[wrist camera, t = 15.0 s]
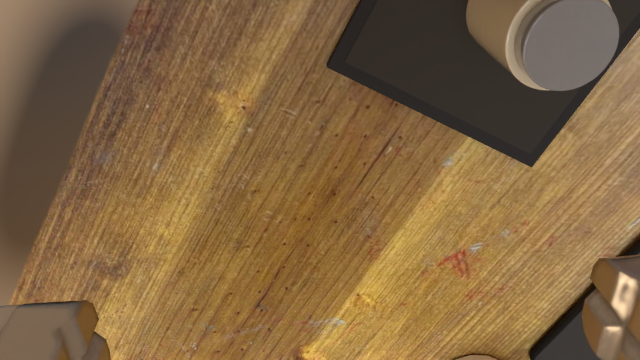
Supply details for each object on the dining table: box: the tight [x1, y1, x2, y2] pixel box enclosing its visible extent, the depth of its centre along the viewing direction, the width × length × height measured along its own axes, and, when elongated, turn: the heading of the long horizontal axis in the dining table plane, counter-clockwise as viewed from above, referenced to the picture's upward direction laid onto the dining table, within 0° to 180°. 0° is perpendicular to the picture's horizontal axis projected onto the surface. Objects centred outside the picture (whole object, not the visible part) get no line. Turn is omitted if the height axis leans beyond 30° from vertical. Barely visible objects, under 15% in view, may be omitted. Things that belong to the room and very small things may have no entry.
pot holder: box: [327, 0, 640, 167], centre depth 32 cm, size 16×16×1 cm
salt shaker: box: [466, 0, 619, 91], centre depth 28 cm, size 5×5×8 cm
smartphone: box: [530, 240, 640, 360], centre depth 44 cm, size 7×1×15 cm
